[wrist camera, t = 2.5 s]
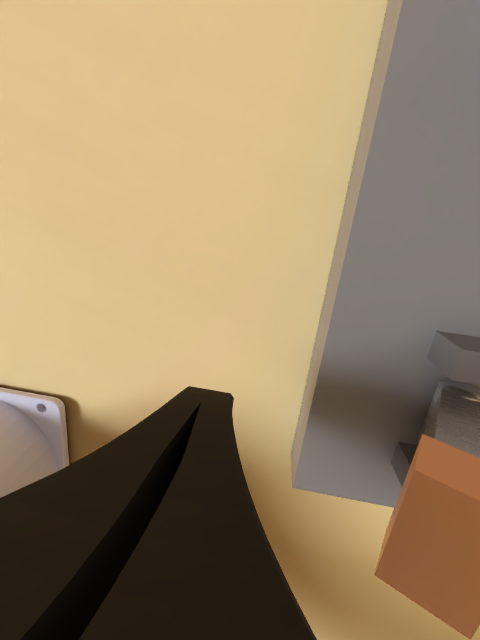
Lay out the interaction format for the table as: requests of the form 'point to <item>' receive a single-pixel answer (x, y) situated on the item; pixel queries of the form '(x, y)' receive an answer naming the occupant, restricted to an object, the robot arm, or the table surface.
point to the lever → (440, 513)
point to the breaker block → (400, 260)
